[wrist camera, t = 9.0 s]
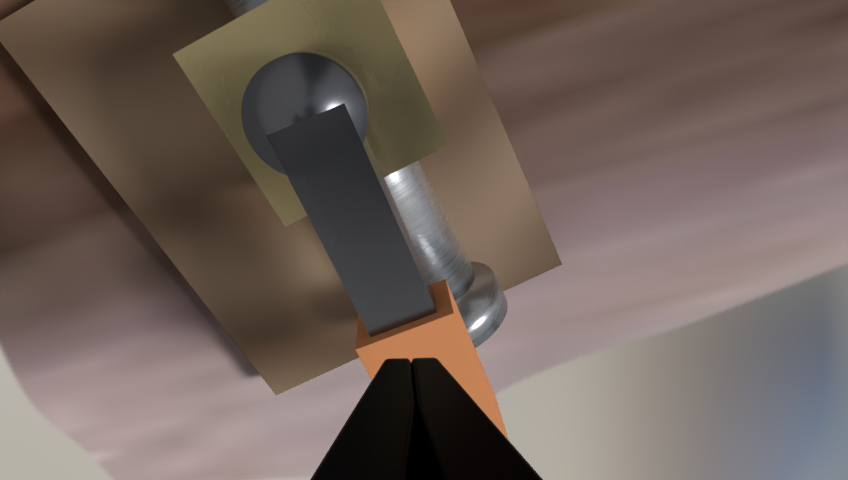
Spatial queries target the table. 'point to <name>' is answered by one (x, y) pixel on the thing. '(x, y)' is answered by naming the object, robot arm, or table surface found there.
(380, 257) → the valve lever
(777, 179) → the table surface
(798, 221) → the table surface
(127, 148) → the valve board
